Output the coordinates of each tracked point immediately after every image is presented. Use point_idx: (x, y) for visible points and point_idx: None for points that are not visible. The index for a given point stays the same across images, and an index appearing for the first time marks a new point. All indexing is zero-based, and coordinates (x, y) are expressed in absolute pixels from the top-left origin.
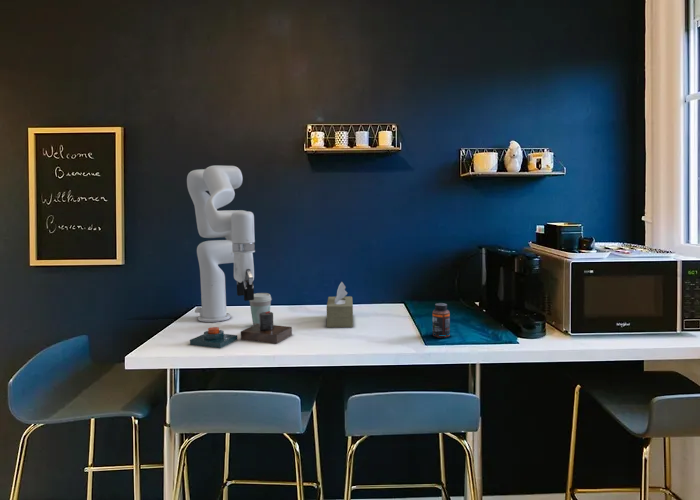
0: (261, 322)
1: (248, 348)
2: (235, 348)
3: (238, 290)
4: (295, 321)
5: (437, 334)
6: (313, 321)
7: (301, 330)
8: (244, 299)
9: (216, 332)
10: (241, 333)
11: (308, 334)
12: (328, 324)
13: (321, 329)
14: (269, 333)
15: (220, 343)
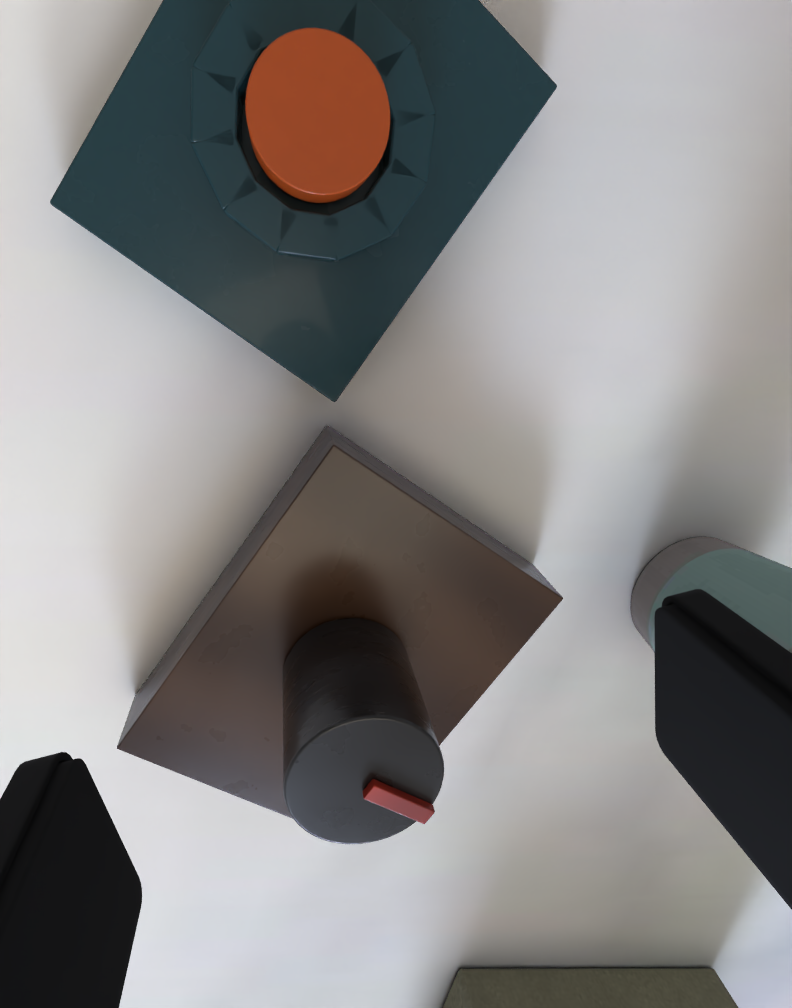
0: (305, 681)
1: (27, 481)
2: (44, 364)
3: (732, 682)
4: (690, 805)
5: None
6: (636, 898)
7: (450, 840)
8: (13, 776)
9: (259, 160)
10: (325, 446)
11: (334, 879)
12: (460, 995)
13: (429, 941)
14: (181, 695)
15: (56, 207)
